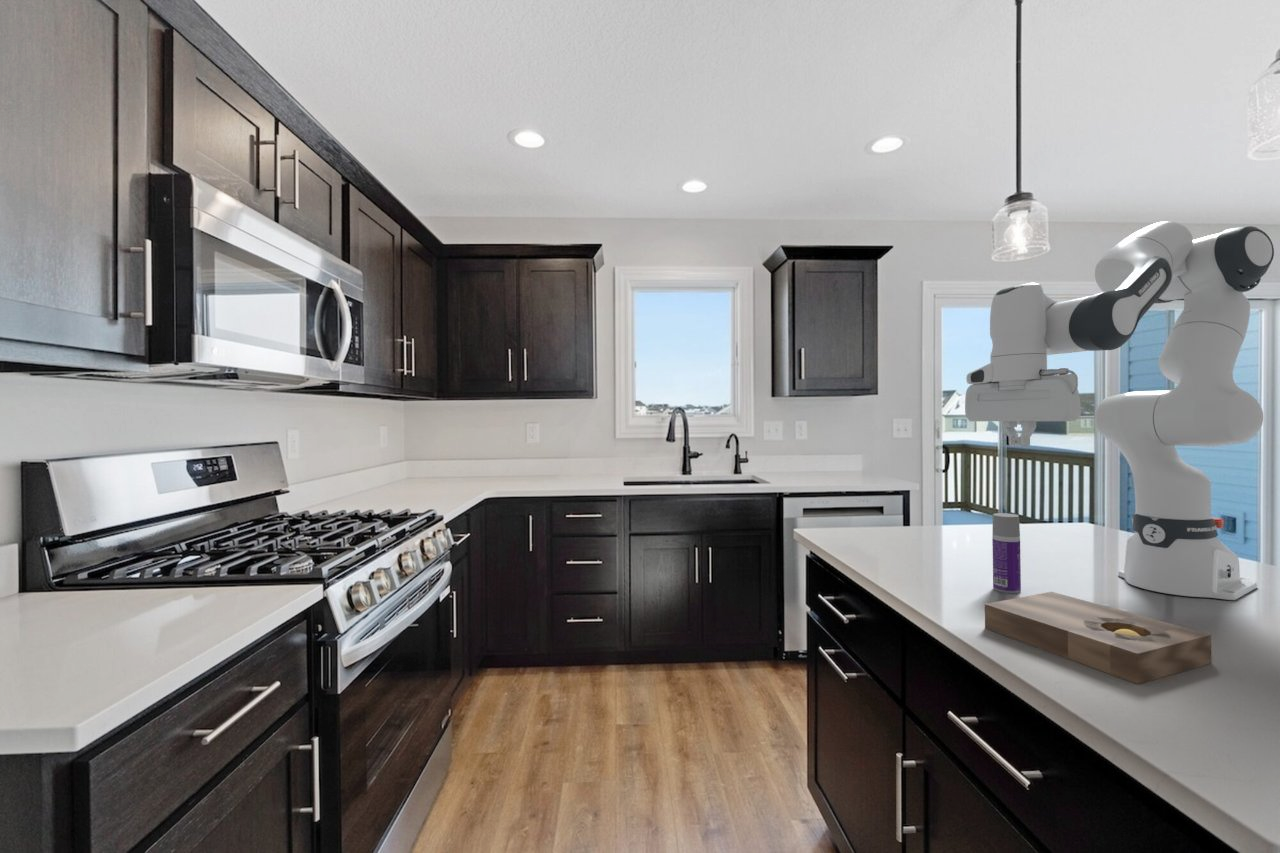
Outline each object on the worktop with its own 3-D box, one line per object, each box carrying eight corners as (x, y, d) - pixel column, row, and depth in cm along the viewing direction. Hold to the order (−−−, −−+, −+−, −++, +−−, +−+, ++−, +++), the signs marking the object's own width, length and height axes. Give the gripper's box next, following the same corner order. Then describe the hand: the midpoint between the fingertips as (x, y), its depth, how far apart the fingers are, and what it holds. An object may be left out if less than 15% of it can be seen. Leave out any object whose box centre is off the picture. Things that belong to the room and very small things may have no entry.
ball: (1115, 635, 87) (1134, 621, 84) (1139, 660, 84) (1159, 646, 82) (1097, 640, 86) (1115, 626, 83) (1120, 666, 83) (1140, 651, 80)
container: (1025, 594, 113) (1024, 517, 113) (998, 593, 114) (997, 516, 114) (1014, 587, 118) (1013, 513, 118) (989, 586, 119) (988, 512, 119)
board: (1052, 614, 102) (1051, 591, 102) (1211, 663, 81) (1211, 634, 81) (985, 628, 96) (984, 604, 96) (1138, 684, 76) (1137, 653, 76)
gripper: (1089, 366, 100) (1090, 447, 100) (982, 376, 119) (983, 443, 119) (1064, 366, 97) (1065, 449, 98) (959, 375, 117) (960, 444, 117)
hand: (1019, 446), depth 108 cm, fingers closed
